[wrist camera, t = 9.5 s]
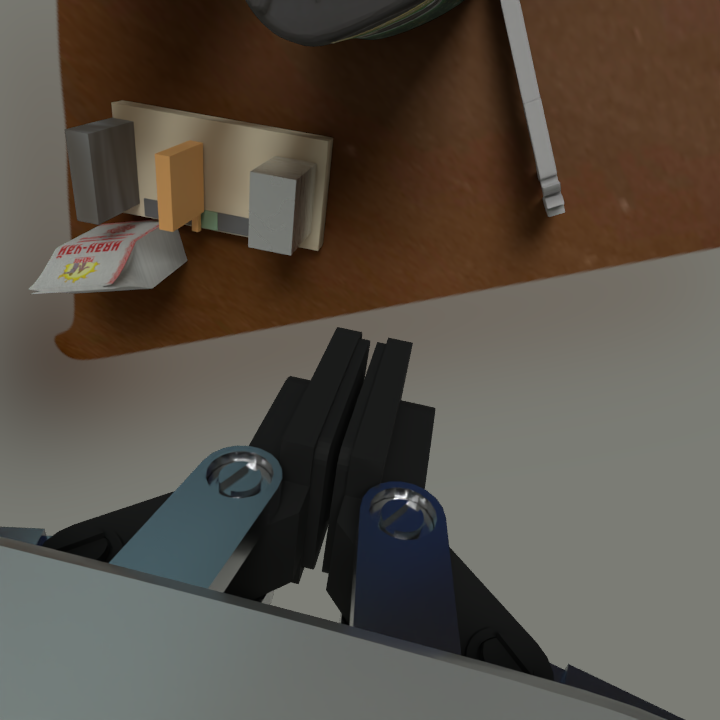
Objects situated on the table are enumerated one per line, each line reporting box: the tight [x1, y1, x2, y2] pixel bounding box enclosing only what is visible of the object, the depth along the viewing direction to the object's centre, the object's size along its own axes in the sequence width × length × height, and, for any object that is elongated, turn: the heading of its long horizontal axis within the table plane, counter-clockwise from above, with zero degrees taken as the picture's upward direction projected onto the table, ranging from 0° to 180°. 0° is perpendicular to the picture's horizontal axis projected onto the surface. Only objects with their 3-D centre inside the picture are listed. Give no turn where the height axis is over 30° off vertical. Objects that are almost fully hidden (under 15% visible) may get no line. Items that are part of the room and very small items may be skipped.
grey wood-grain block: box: [248, 156, 317, 255], centre depth 38 cm, size 3×5×5 cm, turn 173°
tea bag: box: [29, 219, 187, 294], centre depth 43 cm, size 4×7×10 cm, turn 98°
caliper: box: [500, 0, 565, 217], centre depth 33 cm, size 20×1×6 cm, turn 21°
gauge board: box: [65, 100, 333, 251], centre depth 40 cm, size 16×8×7 cm, turn 83°
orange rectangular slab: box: [155, 140, 204, 232], centre depth 40 cm, size 1×6×5 cm, turn 172°
